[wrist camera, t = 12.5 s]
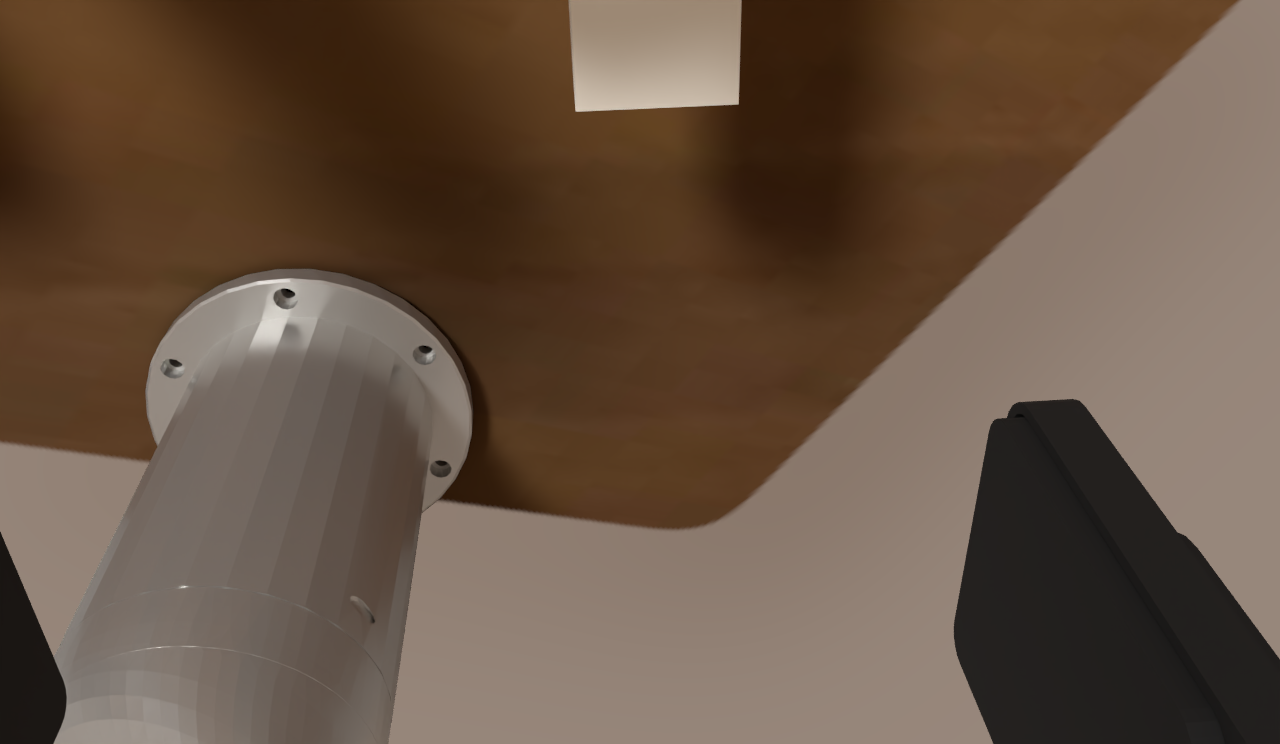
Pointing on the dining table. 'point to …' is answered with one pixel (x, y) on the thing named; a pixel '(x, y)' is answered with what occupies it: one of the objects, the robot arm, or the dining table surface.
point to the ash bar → (655, 53)
